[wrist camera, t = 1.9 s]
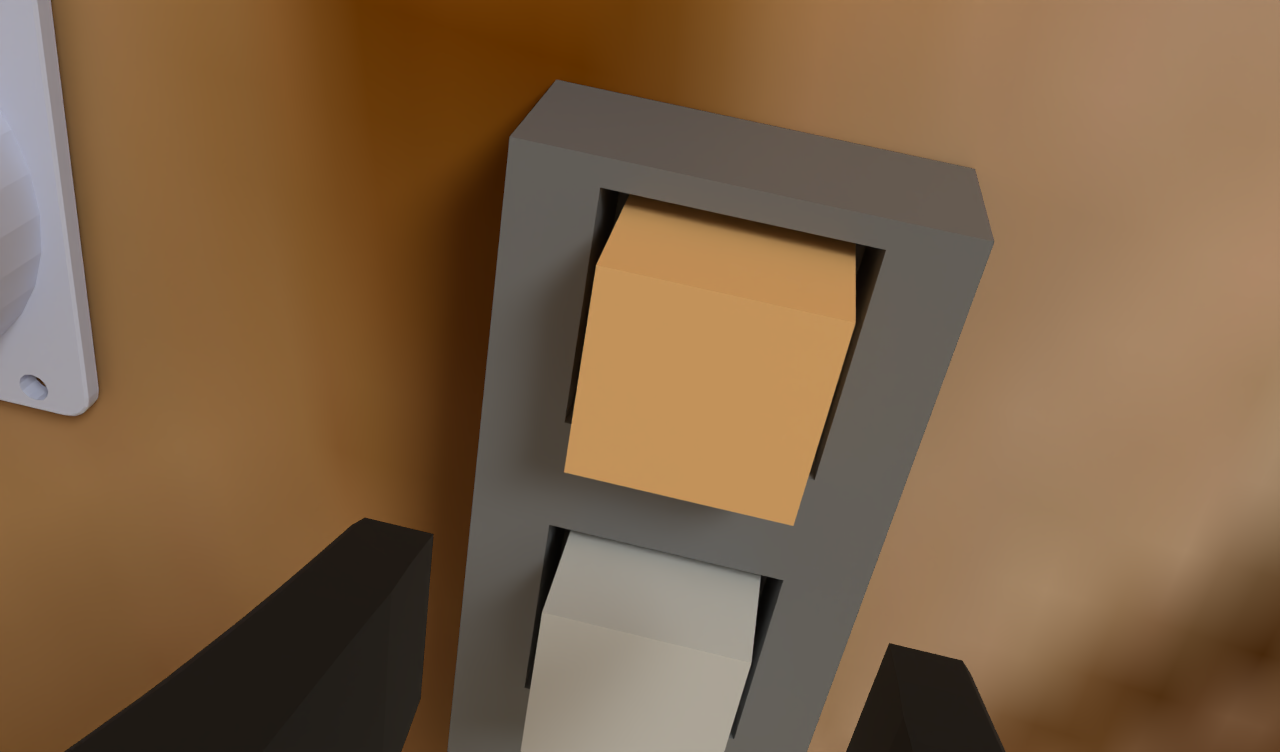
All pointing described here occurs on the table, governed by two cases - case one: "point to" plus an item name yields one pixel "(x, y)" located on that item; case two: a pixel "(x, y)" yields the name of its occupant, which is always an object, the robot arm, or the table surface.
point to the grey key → (639, 651)
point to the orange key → (711, 357)
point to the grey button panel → (560, 502)
